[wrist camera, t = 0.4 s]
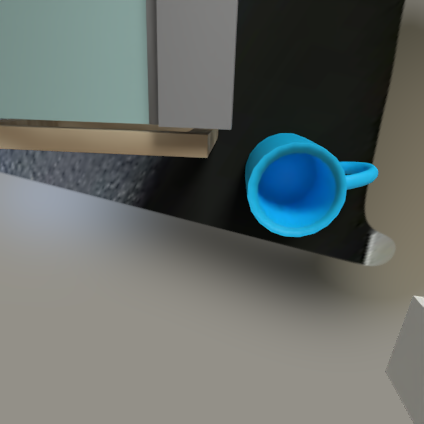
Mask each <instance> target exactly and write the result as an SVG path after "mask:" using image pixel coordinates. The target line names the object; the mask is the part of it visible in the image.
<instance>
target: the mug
mask: <svg viewBox="0 0 424 424" xmlns="http://www.w3.org/2000/svg"><path fill="white" fill-rule="evenodd" d="M345 174H351V175H346V176H345ZM377 176H378V170H377V168H376V167H375V166H374V165H373V164H369V163H364V162H339V161H338V160H337V158H336V157H335V156H333V155H332V154H331V153H330V152H329V151H327V150H326V149H325V148H323V147H321V146H319V145H318V144H316V143H314V142H312V141H310V140H308V139H306V138H304V137H301V136H299V135H296V134H293V133H280V134H276V135H273V136H270V137H267V138H266V139H264V140H263V141H261V142H260V143H259V144H257V146H256V147H255V148H254V149H253V151H252V152H251V153H250V155H249V158H248V160H247V163H246V169H245V181H246V190H247V198H248V202H249V205H250V209H251V212H252V213H253V215H254V216H255V217H256V219H257V220H258V222H259V223H260V224H261V225H263V226H264V227H265V228H267V229H268V230H269V231H271V232H273V233H276V234H279V235H282V236H286V237H302V236H306V235H310V234H314V233H316V232H318V231H319V230H321V229H323V228H324V227H326V226H328V225H329V224H330V223H331V222H332V221H333V219H334V218H335V217H336V216H337V215H338V214H339V212H340V210H341V208H342V206H343V204H344V202H345V198H346V191H347V189H353V188H357V187H361V186H364V185H367V184H369V183H372V182H373V181H374V180H375V179H376V178H377Z"/></svg>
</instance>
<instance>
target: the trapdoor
mask: <svg viewBox="0 0 424 424" xmlns="http://www.w3.org/2000/svg"><path fill="white" fill-rule="evenodd" d="M237 13H238V0H0V118H3V119H29V120H54V121H80V122H105V123H131V124H152V125H159V127H178V128H203V129H228V130H231V127H232V112H233V92H234V73H235V53H236V33H237Z"/></svg>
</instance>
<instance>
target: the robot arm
mask: <svg viewBox="0 0 424 424" xmlns="http://www.w3.org/2000/svg"><path fill="white" fill-rule="evenodd" d="M385 372H386V374H387V375H388V377H389V379H390V381H391V383H392V385H393V386H394V388H395V390H396V392H397V394H398V396H399V397H400V399H401V401H402V403H403V405H404V407H405V409H406V410H407V412H408V414H409V416H410V418H411V420H412V421H413V423H414V424H424V297H419V296H413V298H412V301H411V303H410V306H409V309H408V311H407V314H406V317H405V320H404V322H403V325H402V328H401V330H400V333H399V336H398V338H397V341H396V344H395V346H394V349H393V352H392V355H391V357H390V360H389V363H388V365H387V368H386V371H385Z"/></svg>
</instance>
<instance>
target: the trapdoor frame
mask: <svg viewBox="0 0 424 424" xmlns="http://www.w3.org/2000/svg"><path fill="white" fill-rule="evenodd" d="M217 138H218V129H203V128H178V127H159V125H152V124H131V123H105V122H80V121H54V120H29V119H5V120H0V149H19V150H41V151H64V152H86V153H109V154H131V155H154V156H176V157H199V158H207V157H208V155H209V153H210V151H211V150H212V148H213V146H214V144H215V142H216V140H217Z"/></svg>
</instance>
